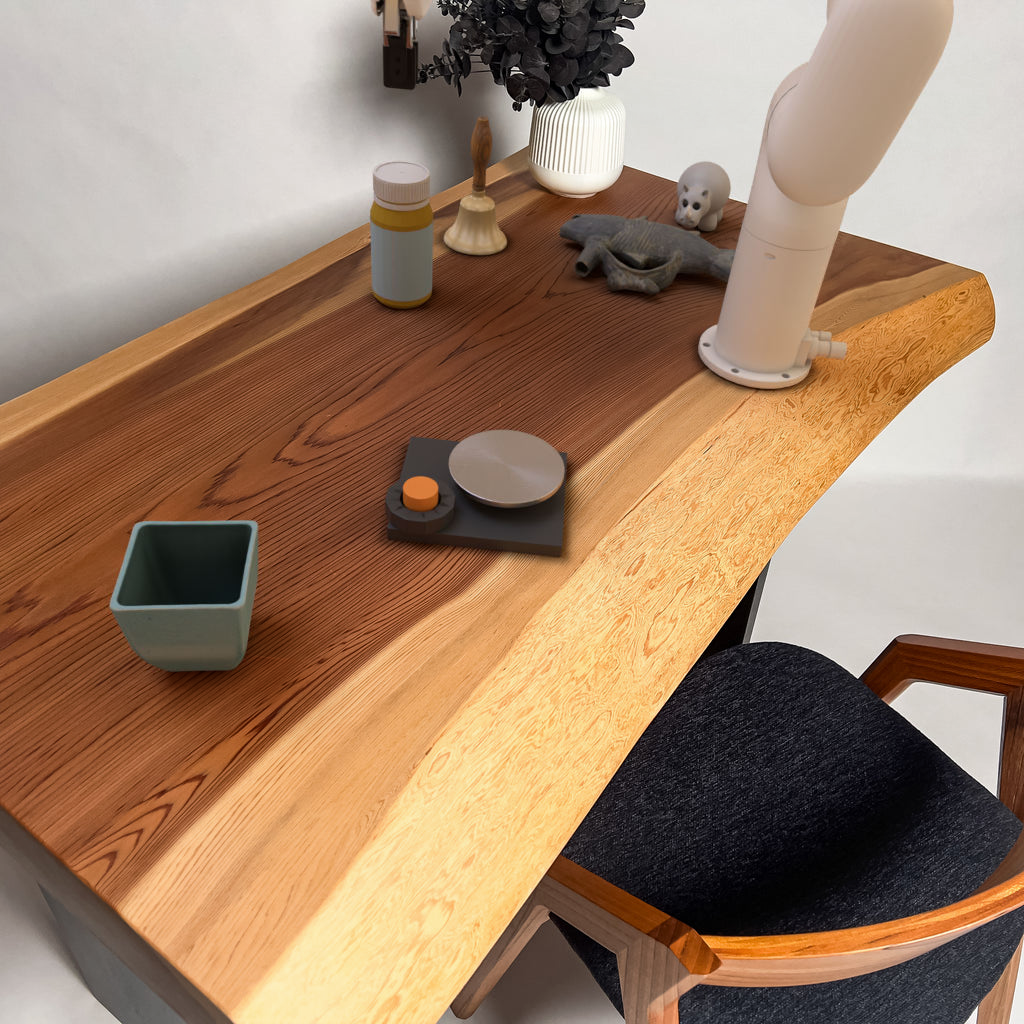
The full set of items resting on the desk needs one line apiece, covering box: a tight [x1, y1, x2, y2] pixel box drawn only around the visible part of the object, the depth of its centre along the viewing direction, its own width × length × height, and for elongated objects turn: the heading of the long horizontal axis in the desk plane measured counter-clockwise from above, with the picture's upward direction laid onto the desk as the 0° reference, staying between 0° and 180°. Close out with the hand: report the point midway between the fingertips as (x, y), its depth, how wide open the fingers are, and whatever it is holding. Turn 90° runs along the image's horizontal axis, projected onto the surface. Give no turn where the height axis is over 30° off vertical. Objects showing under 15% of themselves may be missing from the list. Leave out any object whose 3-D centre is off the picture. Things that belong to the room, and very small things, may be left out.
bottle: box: [369, 160, 434, 310], centre depth 109 cm, size 7×7×15 cm
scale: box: [384, 436, 568, 558], centre depth 86 cm, size 16×13×3 cm
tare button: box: [403, 476, 438, 512], centre depth 82 cm, size 3×3×2 cm
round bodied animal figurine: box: [674, 160, 732, 232], centre depth 130 cm, size 7×12×8 cm, turn 155°
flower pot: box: [109, 519, 259, 673], centre depth 70 cm, size 9×9×9 cm
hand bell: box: [443, 115, 508, 256], centre depth 120 cm, size 8×8×16 cm
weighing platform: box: [448, 429, 565, 508], centre depth 86 cm, size 10×10×1 cm
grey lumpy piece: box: [558, 213, 736, 296], centre depth 121 cm, size 5×25×15 cm
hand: (400, 84), depth 98 cm, fingers closed
